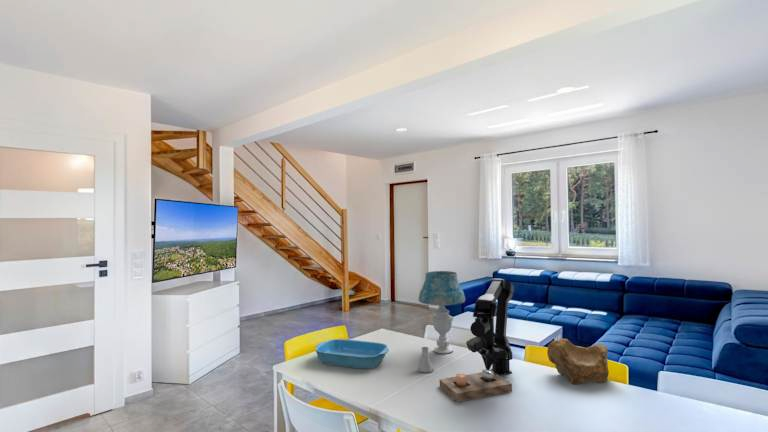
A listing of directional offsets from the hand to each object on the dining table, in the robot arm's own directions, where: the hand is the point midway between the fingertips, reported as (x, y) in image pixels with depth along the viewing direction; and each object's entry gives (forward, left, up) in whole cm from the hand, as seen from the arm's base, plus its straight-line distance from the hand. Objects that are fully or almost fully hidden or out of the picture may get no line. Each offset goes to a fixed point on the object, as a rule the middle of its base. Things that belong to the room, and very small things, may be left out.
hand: (487, 369), depth 152 cm
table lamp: (-3, -45, -7) cm, 46 cm away
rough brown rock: (-38, +8, -7) cm, 39 cm away
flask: (+16, -25, -7) cm, 30 cm away
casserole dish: (+44, -49, -7) cm, 66 cm away
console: (+6, 0, -7) cm, 9 cm away
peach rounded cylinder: (+12, 0, -4) cm, 13 cm away
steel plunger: (0, 0, -4) cm, 4 cm away
